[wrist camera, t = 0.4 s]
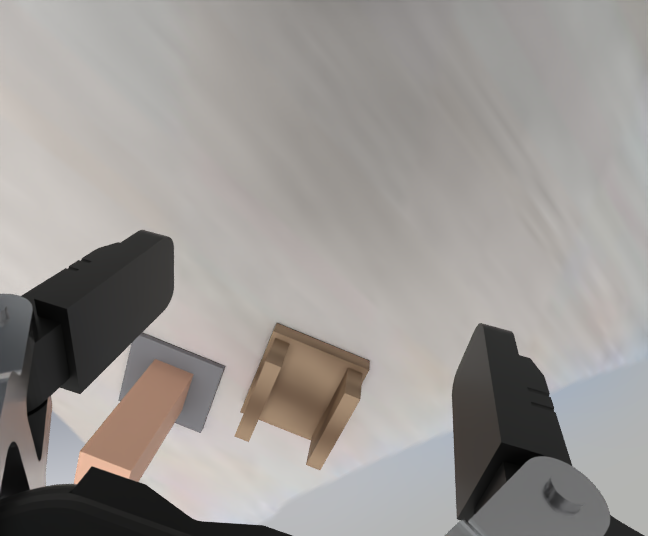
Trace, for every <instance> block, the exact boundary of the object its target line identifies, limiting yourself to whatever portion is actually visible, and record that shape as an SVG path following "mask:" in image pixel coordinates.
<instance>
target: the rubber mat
mask: <svg viewBox="0 0 648 536" xmlns="http://www.w3.org/2000/svg"><path fill="white" fill-rule="evenodd" d="M155 359H157V360H159V361H162V362H164V363H167V364H169V365H172V366H174V367H177V368H179V369H182V370H184V371H187V372H189V373H192V374H194V375H193V378H192V381H191V384H190V387H189V390H188V393H187V396H186V399H185V402H184V406H183V409H182V411H181V413H180V415H179V416H178V418H177V419H176V421H175V423H176V424H179V425H182V426H184V427H187V428H189V429H192V430H194V431H197V432H199V433H201V431H202V429H203V426H204V423H205V421H206V418H207V415H208V412H209V410H210V407H211V404H212V401H213V399H214V396H215V393H216V390H217V387H218V385H219V382H220V379H221V376H222V374H223V371H224V368H225V366H223V365H221V364H218V363H216V362H213V361H211V360H208V359H206V358H203V357H201V356H198V355H196V354H193V353H191V352H189V351H186V350H184V349H181V348H179V347H176V346H174V345H171V344H169V343H166V342H164V341H161V340H159V339H156V338H154V337H151V336H149V335H146V334H144V333H141V334H140V335H139V336H138V337H137V338H136V339H135V340H134V341H133V342H132V344H131V349H130V353H129V357H128V362H127V366H126V370H125V375H124V379H123V383H122V388H121V392H120V396H119V401H121V400H122V399H123V398H124V397H125V395H126V394H127V393H128V392H129V390H130V389H131V388H132V387H133V386H134V384H135V383H136V382H137V381H138V379H139V378H140V377H141V376H142V375H143V373H144V372H145V371H146V370H147V368H148V367H149V366H150V365H151V364H152V362H153V361H154V360H155Z"/></svg>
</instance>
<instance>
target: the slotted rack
mask: <svg viewBox="0 0 648 536" xmlns="http://www.w3.org/2000/svg"><path fill="white" fill-rule="evenodd" d="M369 364H370V361H368V360H366V359H364V358H361V357H359V356H356V355H354V354H351V353H349V352H346V351H344V350H342V349H339V348H337V347H334V346H332V345H329V344H327V343H324V342H322V341H320V340H317V339H315V338H312V337H310V336H307V335H305V334H303V333H300V332H298V331H295V330H293V329H290V328H288V327H285V326H283V325H281V324H278V323H277V324H276V326H275V328H274V330H273V333H272V335H271V338H270V340H269V343H268V345H267V348H266V350H265V353H264V355H263V357H262V360H261V362H260V365H259V367H258V370H257V372H256V375H255V377H254V380H253V382H252V384H251V387H250V389H249V392H248V394H247V397H246V399H245V402H244V404H243V407H242V409H241V411H240V412H241V413H244V414H243V417H242V419H241V422H240V424H239V426H238V429H237V431H236V434H235V437H238V438H240V439H243V440H245V441H248V442H249V440H250V438H251V435H252V433H253V431H254V428H255V426H256V424H257V422H258V419H259V420H261V421H264V422H266V423H269V424H271V425H274V426H276V427H279V428H281V429H284V430H286V431H289V432H291V433H294V434H296V435H299V436H301V437H304V438H306V439H309V440H311V443H310V448H309V453H308V458H307V463H306V465H308V466H311V467H313V468H316V469H318V470H321V468H322V466H323V464H324V463H325V461H326V459H327V457H328V455H329V454H330V452H331V450H332V448H333V447H334V445H335V443H336V441H337V440H338V438H339V436H340V434H341V433H342V431H343V429H344V427H345V425H346V424H347V422H348V420H349V418H350V417H351V415H352V413H353V411H354V410H355V408H356V406H357V404H358V403H359V401H360V396H361V384H362V382H363V380H364V379H365V377H366V375H367V373H368V371H369Z"/></svg>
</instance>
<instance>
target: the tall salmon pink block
mask: <svg viewBox="0 0 648 536" xmlns="http://www.w3.org/2000/svg"><path fill="white" fill-rule="evenodd" d="M193 375H194V374H192V373H189V372H187V371H184V370H182V369H179V368H177V367H174V366H172V365H169V364H167V363H164V362H162V361H159V360H157V359H155V360H154V361H153V362H152V364H151V365H150V366H149V367H148V368H147V370H146V371H145V372H144V373H143V375H142V376H141V377H140V378H139V379H138V381H137V382H136V383H135V384H134V386H133V387H132V388H131V389H130V390H129V392H128V393H127V394H126V395H125V397H124V398H123V399H122V400H121V402H120V403H119V404H118V405H117V406H116V408H115V409H114V410H113V411H112V413H111V414H110V415H109V416H108V417H107V419H106V420H105V421H104V422H103V424H102V425H101V426H100V427H99V428H98V430H97V431H96V432H95V433H94V435H93V436H92V437H91V438H90V440H89V441H88V442H87V443H86V444H85V446H84V447H83V448H82V449H81V451H80V454H79V459H78V464H77V470H76V474H75V480H74V484H78V483H79V481H80V480H81V479H82V478H83V476H84V475H85V474H86V473H87V471H88V470H89V469H90V468H91V466H93V467H96V468H99V469H102V470H105V471H108V472H110V473H113V474H116V475H119V476H122V477H125V478H128V479H131V480H134V481H136V482H139V480H140V478H141V477H142V475H143V474H144V472H145V470H146V469H147V467H148V465H149V464H150V462H151V460H152V459H153V457H154V455H155V454H156V452H157V451H158V449H159V447H160V446H161V444H162V442H163V441H164V439H165V437H166V436H167V434H168V433H169V431H170V429H171V428H172V426H173V424H174V423H175V421H176V419H177V418H178V416H179V415H180V413H181V411H182V409H183V406H184V402H185V399H186V396H187V393H188V390H189V387H190V384H191V381H192V378H193Z"/></svg>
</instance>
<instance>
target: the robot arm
mask: <svg viewBox="0 0 648 536" xmlns="http://www.w3.org/2000/svg"><path fill="white" fill-rule="evenodd" d="M173 290H174V245H173V241H172V239H171V238H170V237H167V236H163V235H160V234H156V233H152V232H149V231H145V230H140V231H138V232H136V233H135V234H133V235H132V236H130V237H129V238H127V239H126V240H124V241H122V242H121V243H119V242H118V243H114V244H111V245H108V246H104V247H101V248H98V249H96V250H94V251H93V252H91V253H90V254H88V255H86V256H85V257H83V258H82V260H81V261H80V260H78V261H77V262H75V263H73V264H72V265H70V266H69V268H68V269H66V268H65V269H64V270H62V271H61V272H59V273H57V274H56V275H54V276H53V277H51V278H49V279H48V280H46V281H44V282H43V283H41V284H40V285H38V286H36V287H35V288H33V289H32V290H30V291H28V292H27V293H25V294H24V295H22V296H18V295H13V294H0V536H292V535H289V534H286V533H283V532H280V531H277V530H275V529H272V528H269V527H266V526H263V525H247V524H232V523H217V522H202V521H197V520H194V519H192V518H191V517H189V516H188V515H186V514H185V513H184V512H182V511H181V510H180V509H178V508H177V507H175V506H174V505H173V504H171V503H170V502H169V501H167V500H166V499H165V498H163V497H162V496H160V495H159V494H158V493H156V492H155V491H154V490H152V489H151V488H150V487H148V486H147V485H145V484H142V483H139V482H136V481H134V480H131V479H128V478H125V477H122V476H119V475H116V474H113V473H110V472H108V471H105V470H102V469H99V468H96V467H93V466H91V468H90V469H89V470H88V471H87V473H86V474H85V475H84V476H83V478H82V479H81V480H80V481H79V483H78V484H59V485H51V486H46V464H47V454H48V453H47V452H48V443H49V433H50V422H51V412H52V400H51V395H52V394H53V393H54V392H55V391H56V390H57V389H58V388H59V387H60V388H63V389H66V390H69V391H72V392H75V393H78V394H81V393H82V392H83V391H84V390H85V389H86V388H87V387H88V386H89V385H90V384H91V383H92V382H93V381H94V380H95V379H96V378H97V377H98V376H99V375H100V374H101V373H102V372H103V371H104V370H105V369H106V368H107V367H108V366H109V365H110V364H111V363H112V362H113V361H114V360H115V359H116V358H117V357H118V356H119V355H120V354H121V353H122V352H123V351H124V350H125V349H126V348H127V347H128V346H129V345H130V344H131V343H132V342H133V341H134V340H135V339H136V338H137V337H138V336H139V335H140V334H141V333H142V332H143V331H144V330H145V329H146V328H147V327H148V326H149V325H150V324H151V323H152V322H153V321H154V320H155V319H156V318H157V317H158V316H159V315H160V314H161V313H162V312H163V311H164V310H165V309H166V308H167V306H168V304H169V303H170V301H171V298H172V295H173ZM549 394H550V393H549V390H548V387H547V384H546V381H545V377H544V375H543V374H542V373H541V371H540V370H539V369H538V368H537V366H536V365H535V364H534V363H533V361H532V360H531V359H530V358H527V357H523V356H520V355H519V354H518V350H517V346H516V342H515V338H514V334H513V333H512V332H511V331H508V330H504V329H500V328H497V327H493V326H489V325H486V324H482V323H480V324H478V326H477V327H476V329H475V331H474V333H473V335H472V337H471V340H470V342H469V344H468V346H467V349H466V351H465V353H464V356H463V358H462V360H461V362H460V365H459V367H458V369H457V372H456V375H455V378H454V383H453V389H452V407H453V432H454V456H455V483H456V508H457V519H458V520H461V521H460V522H458V523H457V524H456V525H455V526H454V527H453V528H452V529H451V530H450V531H449V532H448V533H447V534H446V535H445V536H644V535H642V534H640V533H639V532H637V531H635V530H634V529H632V528H630V527H628V526H627V525H625V524H623V523H622V522H620V521H618V520H617V519H615V518H614V517H612V516H611V515H610V512H609V509H608V506H607V503H606V501H605V499H604V498H603V496H602V495H601V493H600V491H599V490H598V489H597V488H596V486H595V485H594V484H593V483H592V482H591V481H590V480H589V479H588V478H587V477H586V476H585V475H584V474H582V473H581V472H580V471H578V470H577V469H576V468H574V467H572V464H571V460H570V458H569V454H568V451H567V448H566V445H565V441H564V439H563V435H562V432H561V429H560V425H559V422H558V419H557V416H556V413H555V412H554V406H553V403H552V400H551V397H549Z"/></svg>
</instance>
